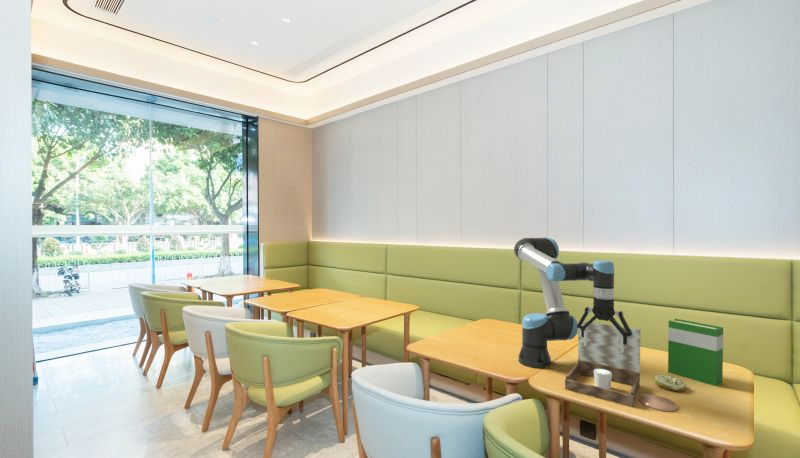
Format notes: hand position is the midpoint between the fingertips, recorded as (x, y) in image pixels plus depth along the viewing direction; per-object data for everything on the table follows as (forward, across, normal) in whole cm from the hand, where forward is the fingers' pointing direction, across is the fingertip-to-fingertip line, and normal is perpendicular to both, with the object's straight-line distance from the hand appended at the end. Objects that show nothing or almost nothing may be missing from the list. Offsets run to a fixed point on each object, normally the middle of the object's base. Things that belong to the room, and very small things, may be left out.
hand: (603, 348), depth 154 cm
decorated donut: (+17, +22, +19) cm, 34 cm away
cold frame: (+17, 0, 0) cm, 17 cm away
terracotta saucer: (+17, +19, -2) cm, 25 cm away
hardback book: (+17, +30, +38) cm, 51 cm away
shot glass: (+17, 0, 0) cm, 17 cm away
